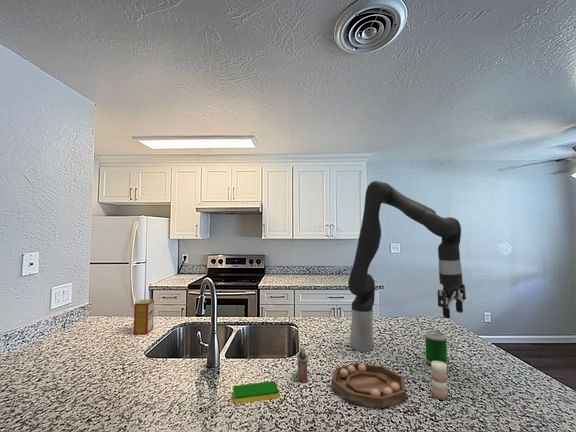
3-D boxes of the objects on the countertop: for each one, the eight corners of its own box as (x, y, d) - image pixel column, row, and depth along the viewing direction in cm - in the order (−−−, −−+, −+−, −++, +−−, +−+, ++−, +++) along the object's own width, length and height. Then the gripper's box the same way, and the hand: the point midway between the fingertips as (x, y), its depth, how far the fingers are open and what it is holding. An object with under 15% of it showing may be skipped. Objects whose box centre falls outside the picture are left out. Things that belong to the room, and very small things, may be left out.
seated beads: (336, 375, 107) (336, 366, 107) (360, 369, 112) (360, 360, 112) (377, 404, 89) (377, 394, 89) (404, 395, 94) (404, 385, 94)
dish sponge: (279, 399, 94) (279, 391, 94) (234, 405, 90) (234, 397, 91) (274, 388, 101) (274, 380, 101) (232, 393, 97) (233, 385, 98)
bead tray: (320, 380, 105) (320, 371, 105) (370, 367, 116) (370, 359, 116) (365, 416, 85) (365, 405, 85) (421, 396, 95) (421, 386, 95)
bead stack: (429, 394, 96) (428, 362, 97) (438, 390, 98) (437, 359, 99) (441, 400, 93) (440, 367, 93) (450, 397, 95) (449, 364, 95)
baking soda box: (147, 334, 152) (147, 302, 153) (133, 335, 152) (134, 302, 152) (153, 328, 162) (154, 298, 163) (140, 329, 161) (141, 298, 162)
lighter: (296, 372, 111) (296, 345, 112) (305, 372, 111) (305, 344, 112) (299, 383, 103) (299, 353, 103) (309, 383, 103) (309, 353, 104)
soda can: (449, 369, 114) (448, 337, 115) (428, 367, 116) (427, 335, 117) (443, 361, 122) (442, 330, 122) (423, 359, 123) (423, 329, 124)
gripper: (450, 267, 118) (453, 308, 118) (429, 273, 111) (432, 317, 111) (470, 269, 112) (474, 312, 112) (449, 276, 104) (452, 322, 104)
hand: (453, 315), depth 111 cm, fingers open, 8 cm apart
